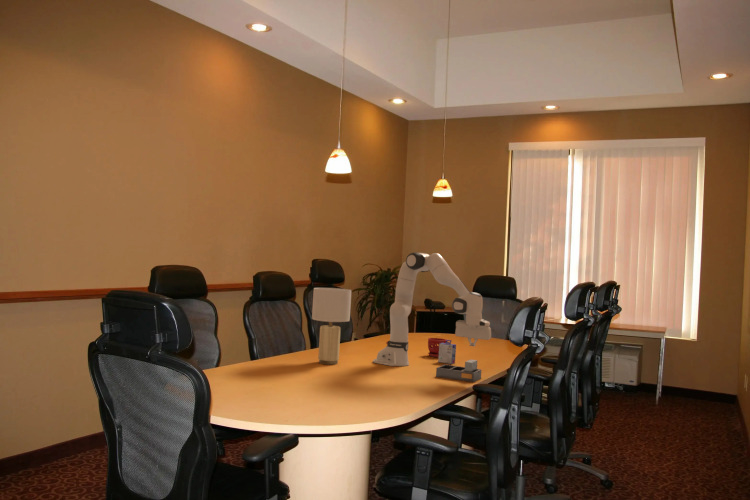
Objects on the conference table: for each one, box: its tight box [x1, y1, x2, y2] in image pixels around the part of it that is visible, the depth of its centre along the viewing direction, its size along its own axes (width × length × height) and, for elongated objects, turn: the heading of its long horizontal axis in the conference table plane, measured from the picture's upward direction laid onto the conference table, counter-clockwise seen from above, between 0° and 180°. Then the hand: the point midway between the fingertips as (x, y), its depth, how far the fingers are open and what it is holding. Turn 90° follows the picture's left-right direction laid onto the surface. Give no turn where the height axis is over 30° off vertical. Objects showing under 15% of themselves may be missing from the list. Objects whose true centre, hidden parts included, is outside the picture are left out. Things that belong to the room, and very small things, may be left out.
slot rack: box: [435, 363, 482, 383], centre depth 354 cm, size 22×14×5 cm, turn 63°
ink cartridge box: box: [437, 339, 457, 365], centre depth 401 cm, size 10×6×14 cm, turn 56°
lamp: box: [311, 287, 352, 366], centre depth 375 cm, size 23×23×44 cm
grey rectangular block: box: [464, 359, 478, 373], centre depth 351 cm, size 4×10×9 cm, turn 153°
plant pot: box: [427, 337, 449, 358], centre depth 424 cm, size 13×13×12 cm
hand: (472, 346), depth 351 cm, fingers closed
